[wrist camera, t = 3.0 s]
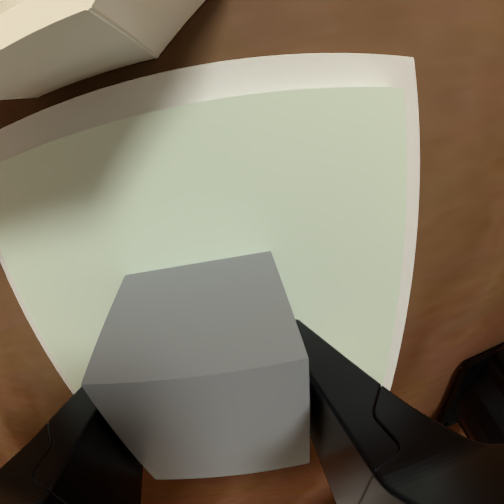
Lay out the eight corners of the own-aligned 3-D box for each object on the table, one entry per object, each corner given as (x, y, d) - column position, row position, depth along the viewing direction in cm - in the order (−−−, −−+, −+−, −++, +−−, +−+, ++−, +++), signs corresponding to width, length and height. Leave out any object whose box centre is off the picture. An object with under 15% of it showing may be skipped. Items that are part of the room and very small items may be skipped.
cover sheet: (372, 387, 13) (413, 473, 9) (113, 425, 13) (98, 513, 8) (388, 87, 8) (519, 96, 3) (-9, 166, 7) (-119, 225, 3)
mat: (386, 388, 14) (389, 394, 13) (106, 429, 13) (104, 435, 13) (406, 58, 8) (413, 57, 7) (-28, 145, 7) (-35, 147, 7)
